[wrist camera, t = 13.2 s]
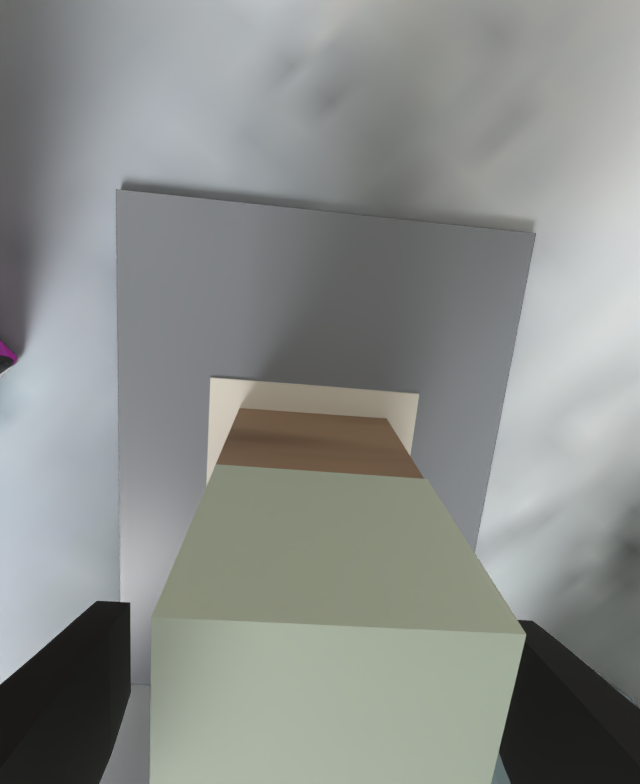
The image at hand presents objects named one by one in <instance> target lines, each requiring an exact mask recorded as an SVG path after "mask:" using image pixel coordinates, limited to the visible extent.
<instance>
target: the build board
mask: <svg viewBox="0 0 640 784" xmlns="http://www.w3.org/2000/svg"><path fill="white" fill-rule="evenodd" d="M535 236H536V233H528V232H519V231H509V230H500V229H490V228H481V227H471V226H462V225H452V224H442V223H433V222H423V221H414V220H404V219H395V218H385V217H376V216H366V215H357V214H347V213H338V212H328V211H319V210H309V209H299V208H290V207H280V206H271V205H261V204H252V203H242V202H233V201H223V200H214V199H204V198H195V197H185V196H176V195H166V194H156V193H147V192H137V191H128V190H118V189H116V247H117V341H118V435H119V529H120V602H130V632H131V684H137V685H151V617H152V615H153V612H154V610H155V607H156V605H157V603H158V600H159V598H160V596H161V593H162V591H163V588H164V586H165V584H166V581H167V579H168V577H169V574H170V572H171V569H172V567H173V565H174V562H175V560H176V558H177V555H178V553H179V550H180V548H181V546H182V543H183V541H184V539H185V536H186V534H187V532H188V529H189V527H190V524H191V522H192V520H193V517H194V515H195V513H196V510H197V508H198V505H199V503H200V501H201V498H202V496H203V494H204V491H205V489H206V486H207V484H208V482H209V479H210V477H211V475H212V472H213V470H214V467H215V465H216V462H217V460H218V458H219V455H220V453H221V451H222V448H223V446H224V443H225V441H226V439H227V436H228V434H229V432H230V429H231V427H232V424H233V422H234V420H235V417H236V415H237V413H238V410H239V408H245V409H260V410H274V411H288V412H302V413H316V414H330V415H344V416H358V417H373V418H387V420H388V421H389V423H390V425H391V426H392V428H393V429H394V431H395V433H396V434H397V436H398V437H399V439H400V441H401V442H402V444H403V445H404V447H405V449H406V450H407V452H408V453H409V455H410V457H411V458H412V460H413V462H414V463H415V465H416V466H417V468H418V470H419V471H420V473H421V474H422V476H423V478H424V479H428V481H429V482H430V484H431V486H432V487H433V489H434V490H435V492H436V493H437V495H438V497H439V498H440V500H441V501H442V503H443V504H444V506H445V507H446V509H447V511H448V512H449V514H450V515H451V517H452V518H453V520H454V522H455V523H456V525H457V526H458V528H459V529H460V531H461V533H462V534H463V536H464V537H465V539H466V540H467V542H468V544H469V545H470V547H471V548H472V550H473V551H474V553H475V548H476V542H477V537H478V532H479V527H480V522H481V516H482V511H483V506H484V501H485V496H486V490H487V485H488V480H489V475H490V470H491V464H492V459H493V454H494V449H495V444H496V438H497V433H498V428H499V423H500V418H501V412H502V407H503V402H504V397H505V392H506V386H507V381H508V376H509V371H510V366H511V361H512V355H513V350H514V345H515V340H516V335H517V329H518V324H519V319H520V314H521V309H522V303H523V298H524V293H525V288H526V283H527V277H528V272H529V267H530V262H531V257H532V251H533V246H534V241H535Z"/></svg>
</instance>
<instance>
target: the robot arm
mask: <svg viewBox="0 0 640 784" xmlns="http://www.w3.org/2000/svg"><path fill="white" fill-rule="evenodd" d="M518 622H519V624H520V625H521V627H522V628H523V630H524V631H525V633H526V638H525V643H524V647H523V651H522V655H521V659H520V664H519V668H518V672H517V676H516V681H515V685H514V689H513V693H512V697H511V702H510V706H509V710H508V714H507V718H506V723H505V727H504V731H503V735H502V740H501V744H500V748H499V754H500V757H501V760H502V763H503V766H504V768H505V771H506V773H507V775H508V778H509V780H510V783H511V784H640V709H639V708H638V707H637V706H636V705H634V704H633V703H632V702H631V701H629V700H628V699H627V698H626V697H625V696H623V695H622V694H621V693H620V692H618V691H617V690H616V689H615V688H614V687H612V686H611V685H610V684H609V683H608V682H606V681H605V680H604V679H603V678H602V677H600V676H599V675H598V674H597V673H596V672H594V671H593V670H592V669H591V668H590V667H589V666H587V665H586V664H585V663H584V662H583V661H581V660H580V659H579V658H578V657H577V656H575V655H574V654H573V653H572V652H571V651H569V650H568V649H567V648H566V647H565V646H563V645H562V644H561V643H560V642H559V641H557V640H556V639H555V638H554V637H552V636H551V635H550V634H549V633H547V632H546V631H545V630H544V629H542V628H541V627H540V626H538V625H537V624H536V623H535V622H533V621H526V620H518ZM130 693H131V632H130V602H108V601H97V602H95V603H94V604H93V605H92V606H90V607H89V608H88V609H87V610H86V611H85V612H83V613H82V614H81V615H80V616H79V617H78V618H77V619H75V620H74V621H73V622H72V623H71V624H70V625H69V626H68V627H66V628H65V629H64V630H63V631H62V632H61V633H60V634H59V635H57V636H56V637H55V638H54V639H53V640H52V641H51V642H49V643H48V644H47V645H46V646H45V647H44V648H43V649H41V650H40V651H39V652H38V653H37V654H36V655H35V656H33V657H32V658H31V659H30V660H29V661H28V662H26V663H25V664H24V665H23V666H22V667H21V668H19V669H18V670H17V671H16V672H15V673H13V674H12V675H11V676H10V677H9V678H8V679H6V680H5V681H4V682H3V683H2V684H0V784H99V783H100V780H101V778H102V775H103V773H104V771H105V768H106V766H107V763H108V761H109V759H110V756H111V754H112V750H113V747H114V744H115V741H116V738H117V735H118V732H119V729H120V726H121V722H122V719H123V716H124V713H125V709H126V706H127V703H128V700H129V696H130Z"/></svg>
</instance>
